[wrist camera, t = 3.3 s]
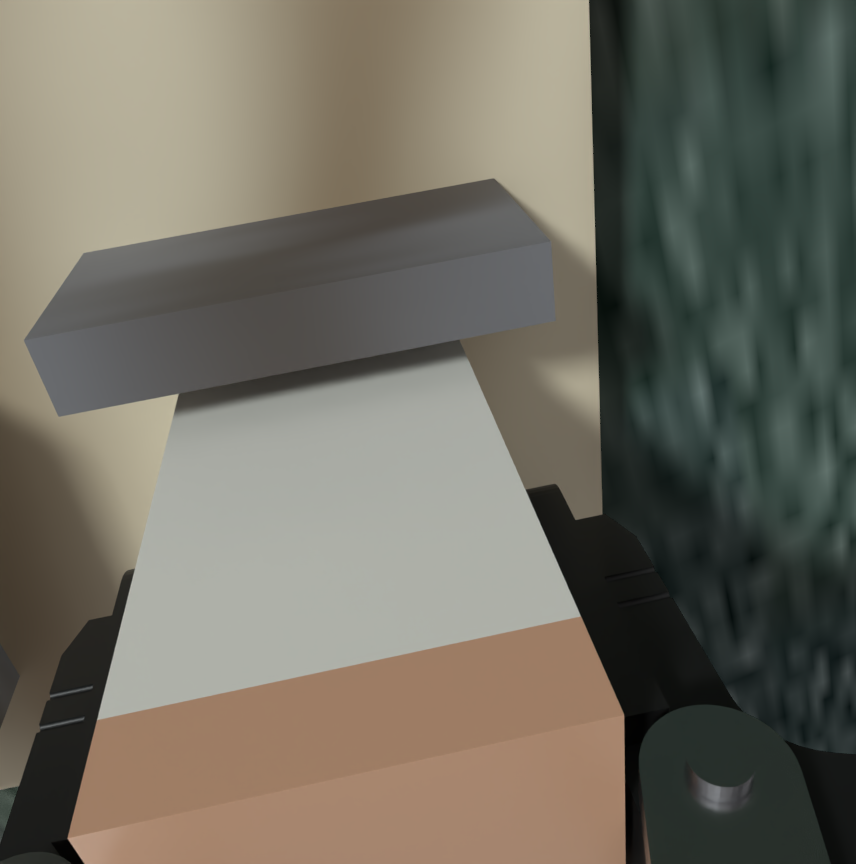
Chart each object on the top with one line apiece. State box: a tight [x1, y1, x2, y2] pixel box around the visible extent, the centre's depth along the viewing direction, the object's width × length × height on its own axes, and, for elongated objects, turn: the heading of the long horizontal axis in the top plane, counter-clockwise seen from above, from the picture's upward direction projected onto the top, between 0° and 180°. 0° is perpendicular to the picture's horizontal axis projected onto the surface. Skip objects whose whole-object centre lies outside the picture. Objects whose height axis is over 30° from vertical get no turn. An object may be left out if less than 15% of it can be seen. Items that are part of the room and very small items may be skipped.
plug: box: [68, 340, 626, 864], centre depth 10 cm, size 4×4×8 cm
